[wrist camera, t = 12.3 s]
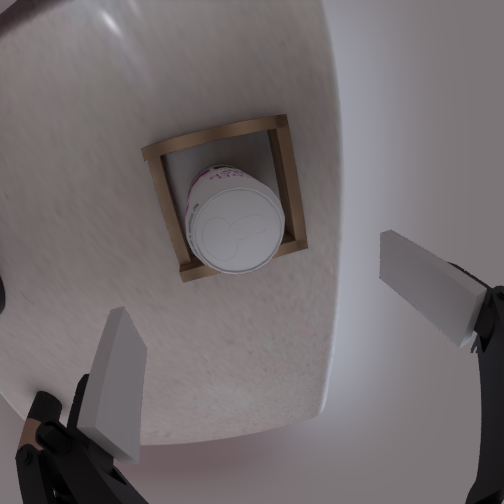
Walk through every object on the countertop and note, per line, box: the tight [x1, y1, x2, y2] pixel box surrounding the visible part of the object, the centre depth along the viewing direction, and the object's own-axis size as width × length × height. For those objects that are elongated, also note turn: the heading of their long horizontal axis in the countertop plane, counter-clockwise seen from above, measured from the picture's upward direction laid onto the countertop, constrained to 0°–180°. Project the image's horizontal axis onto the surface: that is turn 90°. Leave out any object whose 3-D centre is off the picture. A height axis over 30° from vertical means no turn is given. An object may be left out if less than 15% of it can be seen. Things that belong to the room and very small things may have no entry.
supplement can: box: [185, 164, 285, 274], centre depth 28 cm, size 8×8×15 cm
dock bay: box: [141, 114, 308, 283], centre depth 33 cm, size 16×17×4 cm
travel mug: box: [15, 391, 62, 460], centre depth 34 cm, size 8×8×20 cm
